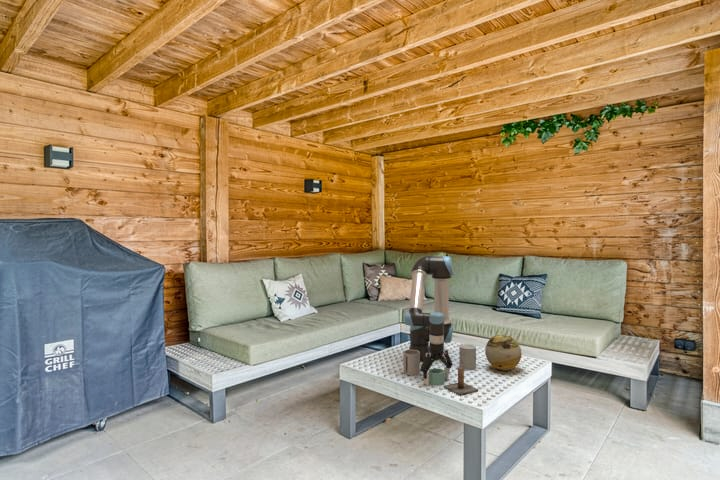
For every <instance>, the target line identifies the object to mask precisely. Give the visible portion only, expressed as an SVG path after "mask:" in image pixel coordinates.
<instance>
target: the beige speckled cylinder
mask: <svg viewBox="0 0 720 480" xmlns="http://www.w3.org/2000/svg"><path fill="white" fill-rule="evenodd" d="M476 350H477V345H473V344H469V343H467V344H466V343H465V344H460V345H459V367H463V368H464V371H474V370H476V369H477V351H476Z"/></svg>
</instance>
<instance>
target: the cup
mask: <svg viewBox="0 0 720 480" xmlns="http://www.w3.org/2000/svg"><path fill="white" fill-rule="evenodd" d="M420 368H421V361H420V352H419V351H417V350H409V349H406V350H403V374H404V375H405V374H406V375H405V376H408V375H410V376H409V377H415V375H417V376H419V375H420V374H421V371H420ZM411 375H412V376H411Z"/></svg>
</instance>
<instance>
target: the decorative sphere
mask: <svg viewBox="0 0 720 480" xmlns="http://www.w3.org/2000/svg"><path fill="white" fill-rule="evenodd" d="M484 353H485V357H486V360H487V361H488V363H489V364H490V365H491V366H492V367H493V368H495V369H496V370H497V369H498V370H501V371H510V370H513V369H514V368H516V367H517V366H518V365H519V363H520V361H521V359H522V355H523V354H522V348H521V346H520V344H519V343H518V341H517V340H516V339H515V338H513V337H512V336H511V335H510V336H509V335H508V334H496V335H494V336H492V337H491V338H489V340H488V341H487V342H486V344H485V349H484Z"/></svg>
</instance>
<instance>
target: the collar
mask: <svg viewBox="0 0 720 480" xmlns="http://www.w3.org/2000/svg"><path fill="white" fill-rule="evenodd" d="M428 373H429V384H431V385H433V386H443V385H445V382H446V381H445V371H444V369H443V368H437V367H436V368H435V367H434V368H429V370H428Z"/></svg>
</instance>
